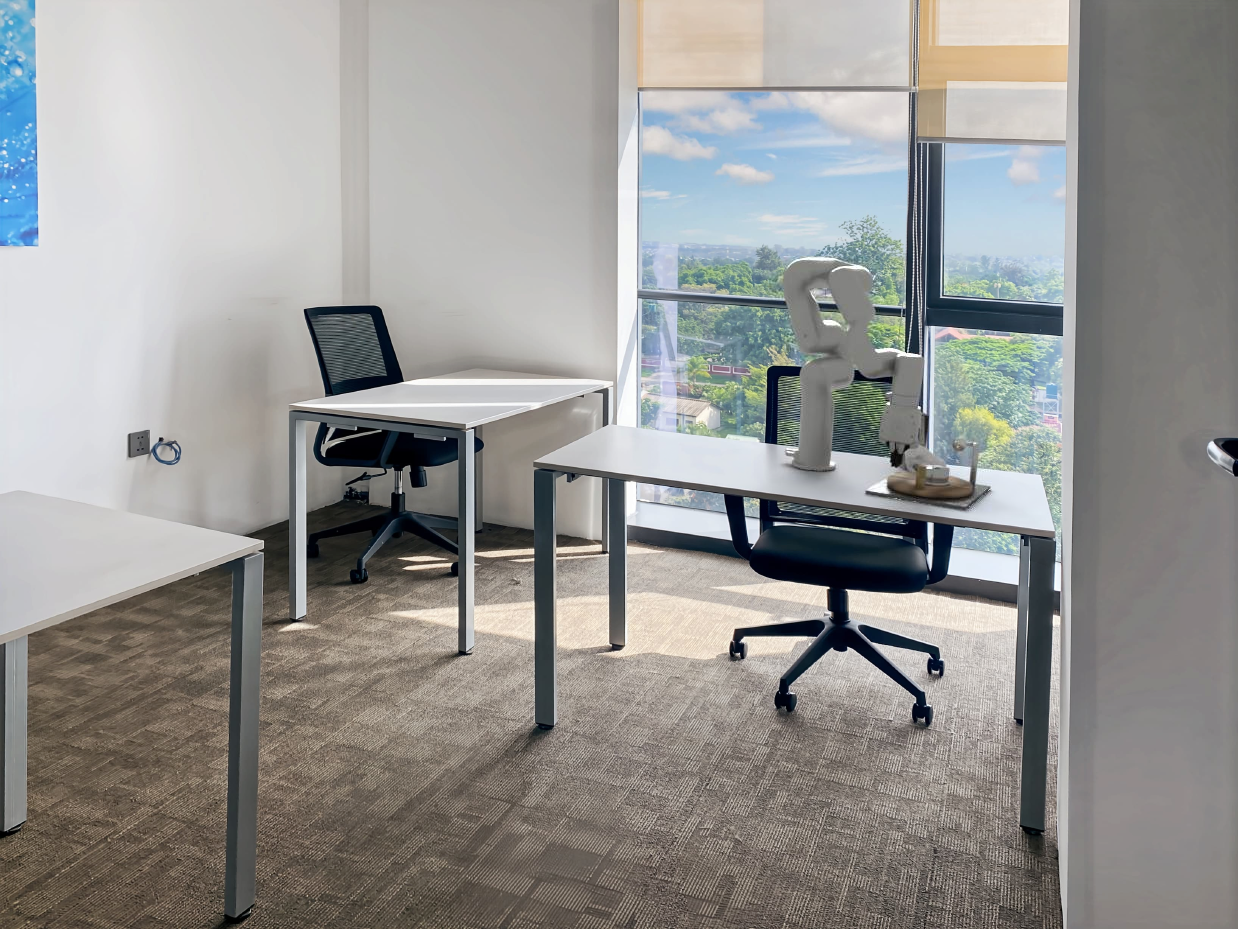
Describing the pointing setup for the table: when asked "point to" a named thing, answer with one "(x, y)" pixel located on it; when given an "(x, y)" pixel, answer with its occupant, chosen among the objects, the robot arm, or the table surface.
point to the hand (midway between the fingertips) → (895, 466)
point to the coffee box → (922, 438)
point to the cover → (937, 475)
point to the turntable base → (954, 503)
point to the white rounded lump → (921, 458)
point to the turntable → (916, 485)
